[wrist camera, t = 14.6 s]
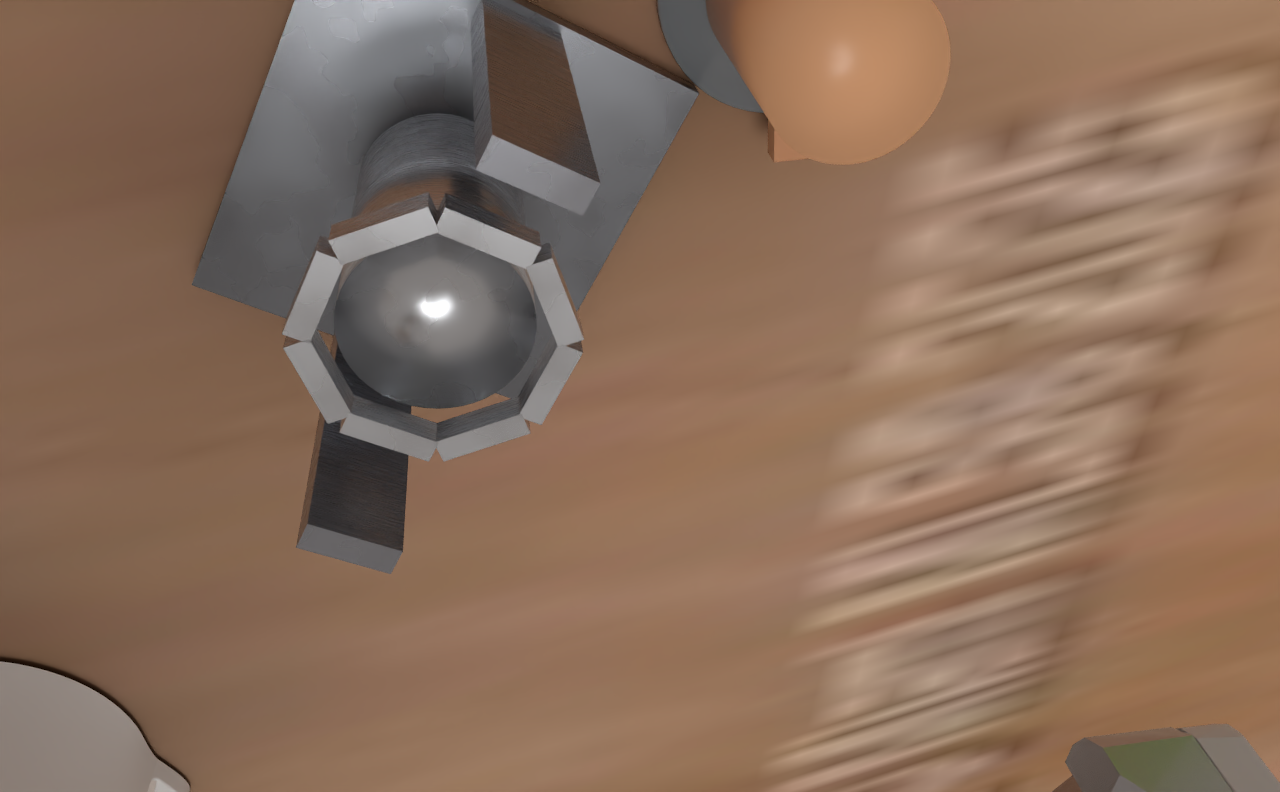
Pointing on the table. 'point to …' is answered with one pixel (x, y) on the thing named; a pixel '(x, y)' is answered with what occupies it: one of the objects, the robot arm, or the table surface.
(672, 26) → the grey rounded piece
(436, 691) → the table surface
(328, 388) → the grey ridged piece
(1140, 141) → the table surface
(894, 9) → the tan rounded piece
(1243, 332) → the table surface
